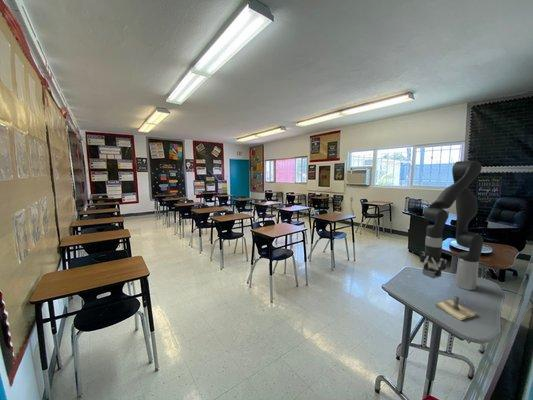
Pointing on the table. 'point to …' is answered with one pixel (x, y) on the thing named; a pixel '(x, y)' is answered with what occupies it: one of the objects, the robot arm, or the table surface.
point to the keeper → (456, 309)
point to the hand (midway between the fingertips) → (431, 273)
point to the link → (430, 272)
